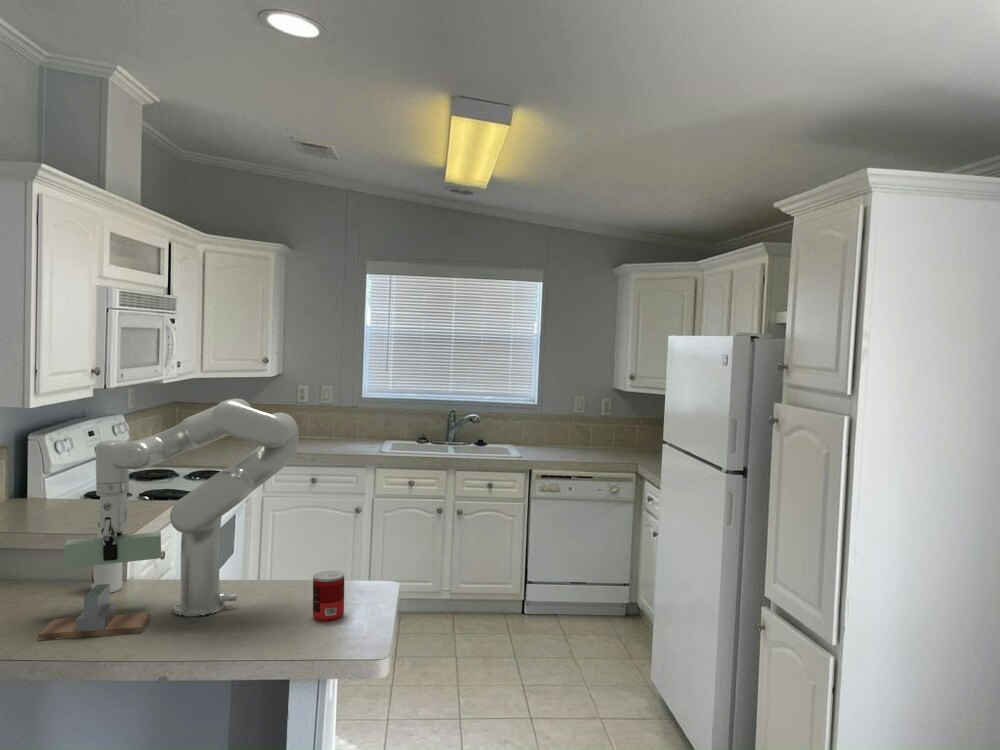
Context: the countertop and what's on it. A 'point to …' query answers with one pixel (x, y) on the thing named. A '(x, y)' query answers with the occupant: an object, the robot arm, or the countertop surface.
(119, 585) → the milk bottle
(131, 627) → the stand
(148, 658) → the countertop surface
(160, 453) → the robot arm
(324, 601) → the canned food
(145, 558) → the beam
